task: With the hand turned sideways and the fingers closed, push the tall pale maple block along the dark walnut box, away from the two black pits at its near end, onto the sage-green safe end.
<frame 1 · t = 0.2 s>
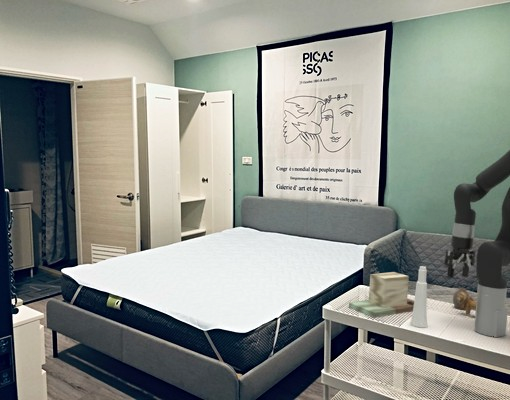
hand: (457, 276, 170), 17 cm above the table, tool pointing down, fingers open, 8 cm apart
trap box: (387, 308, 184), on the table
cosmetic bottle: (418, 325, 165), on the table
maple block: (387, 303, 184), point 2 cm above the table, touching trap box
vase: (460, 308, 190), on the table
lion figurine: (472, 317, 178), on the table
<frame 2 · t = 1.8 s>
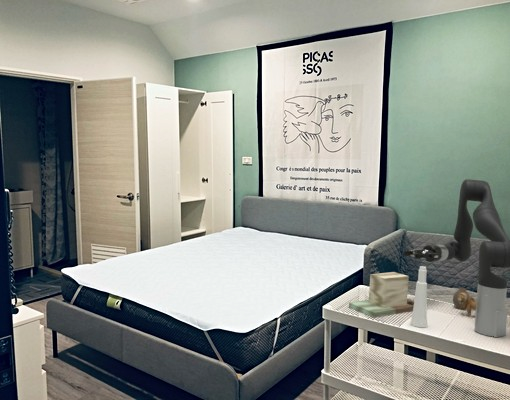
hand: (409, 254, 189), 22 cm above the table, tool horizontal, fingers open, 5 cm apart
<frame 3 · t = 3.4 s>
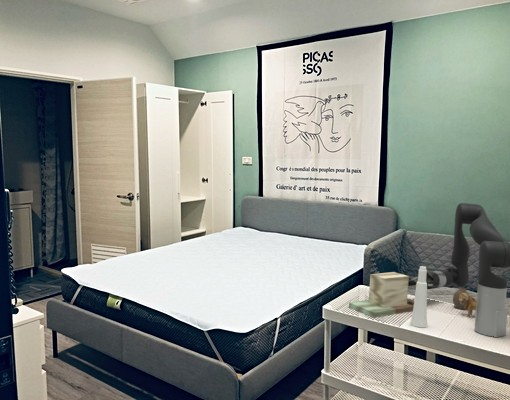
hand: (406, 283, 190), 10 cm above the table, tool horizontal, fingers closed
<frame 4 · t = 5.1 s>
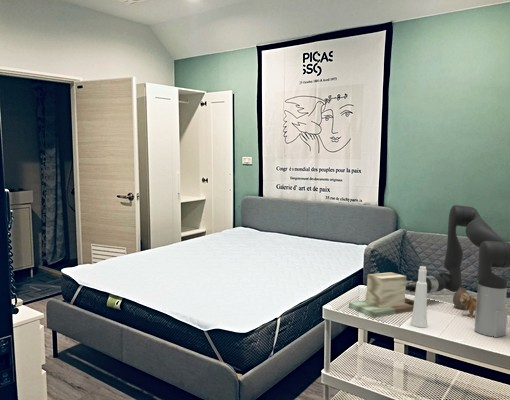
hand: (397, 287, 187), 8 cm above the table, tool horizontal, fingers closed
maple block: (385, 303, 183), point 2 cm above the table, touching gripper, trap box
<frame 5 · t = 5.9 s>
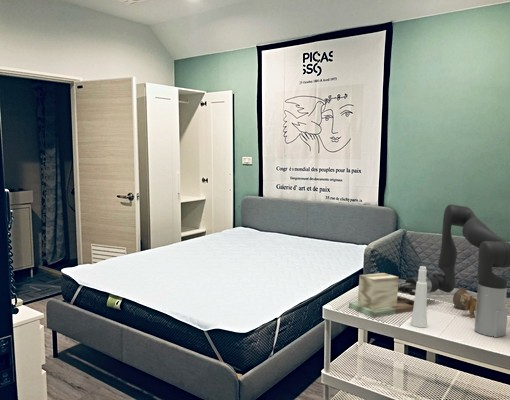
hand: (390, 289, 184), 8 cm above the table, tool horizontal, fingers closed
maple block: (377, 304, 181), point 2 cm above the table, touching gripper, trap box
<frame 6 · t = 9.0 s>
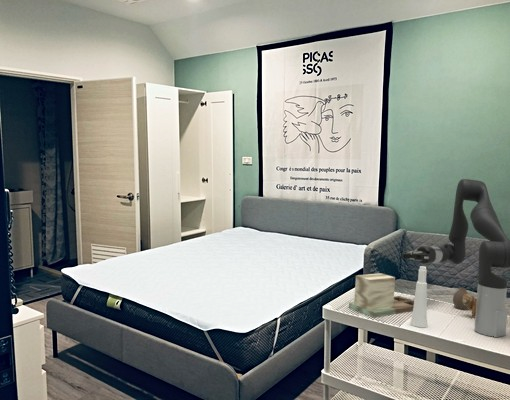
hand: (402, 256, 186), 22 cm above the table, tool horizontal, fingers closed
maple block: (373, 305, 180), point 2 cm above the table, touching trap box
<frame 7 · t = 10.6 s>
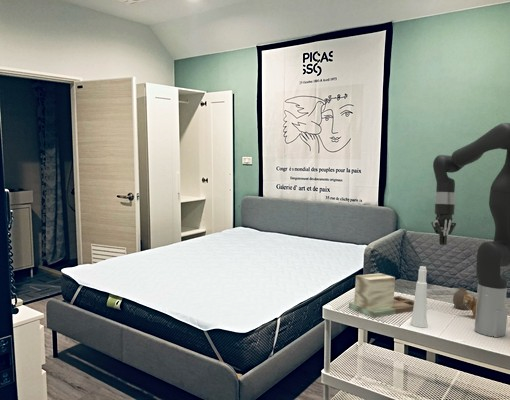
hand: (442, 244, 184), 28 cm above the table, tool pointing down, fingers closed
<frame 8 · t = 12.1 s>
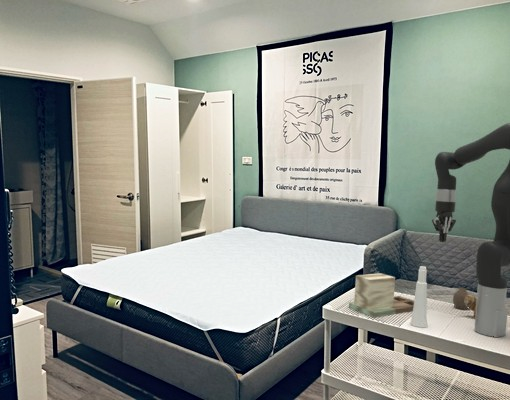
hand: (442, 241, 184), 29 cm above the table, tool pointing down, fingers closed
at the end: maple block inside the target area on the trap box (0.2 cm from its centre), point 2.0 cm above the trap box's base; maple block tilted 0° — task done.
